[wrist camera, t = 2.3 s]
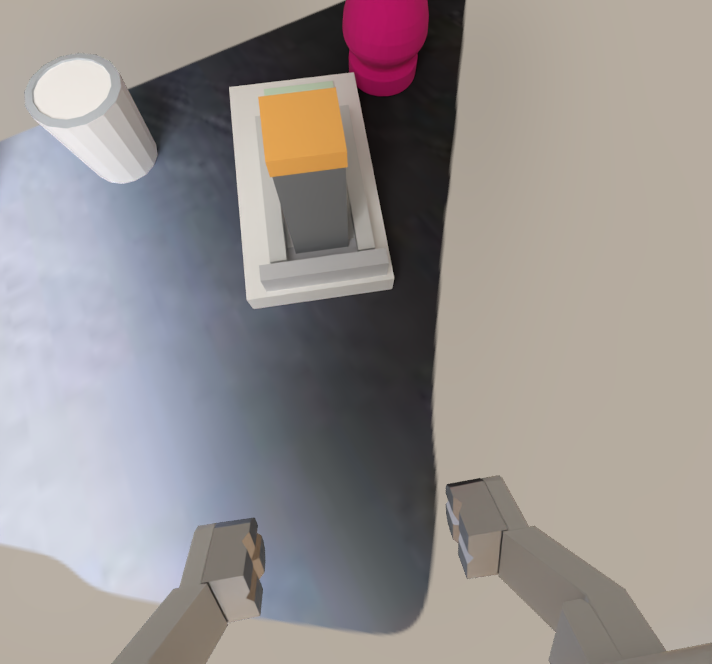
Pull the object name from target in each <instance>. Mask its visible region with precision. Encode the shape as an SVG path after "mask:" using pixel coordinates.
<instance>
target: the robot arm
mask: <svg viewBox="0 0 712 664" xmlns="http://www.w3.org/2000/svg"><path fill="white" fill-rule="evenodd" d="M446 495H447V498H448V502H447V503H446V514H447V520H448V525H449V528H450V532H451V535H452V538H453V540H455V541H456V542H457V543H458V545H459V548H458V549H459V550H458V555H459V558H460V561H461V563H462V566H463V569H464V572H465V575H466V577H467V579H471V578H477V577H484V576H491V575H497V574H499V577H500V578H501V579H502V580H503V581H504V582H505V583H506V584H507V585H508V586H509V587H510V588H511V589H512V590H513V591H514V592H515V593H516V594H517V595H518V596H519V597H520V598H521V599H523V601H524V602H525V603H526V604H527V605H528V606H530V607H531V608H532V609H533V610H534V611H535V612H536V613H537V614H538V615H539V616H540V617H541V618H542V619H543V620H544V621H545V622H546V623H547V624H548V625H549V626H550V627H551V628H552V629H553V630H554V631H555V632H556V633H555V637H554V641H553V645H552V649H551V652H550V656H549V662H550V664H712V643H708V644H702V645H697V646H692V647H687V648H682V649H676V650H671V651H666V650H665V648H664V646H663V645H662V643H661V642H660V640H659V639H658V638H657V636H656V634H655V633H654V632H653V630H652V629H651V627H650V626H649V624H648V623H647V621H646V620H645V618H644V617H643V615H642V614H641V612H640V611H639V609H638V608H637V606H636V605H635V603H634V602H633V600H632V599H631V597H630V596H629V594H628V593H627V591H626V590H625V589H624V588H623V587H621V586H620V585H618V584H617V583H615V582H614V581H612V580H611V579H610V578H608V577H607V576H605V575H604V574H602V573H601V572H600V571H598V570H597V569H595V568H594V567H592V566H591V565H590V564H588V563H587V562H585V561H584V560H582V559H581V558H579V557H578V556H577V555H575V554H574V553H572V552H571V551H569V550H568V549H567V548H565V547H564V546H562V545H561V544H560V543H558V542H557V541H555V540H554V539H552V538H551V537H550V536H548V535H547V534H545V533H544V532H542V531H541V530H539V529H538V528H537V527H535V526H530V527H529V526H528V524H527V522H526V520H525V519H524V517H523V515H522V513H521V511H520V510H519V508H518V506H517V504H516V502H515V500H514V498H513V497H512V495H511V493H510V491H509V489H508V487H507V486H506V484H505V482H504V480H503V478H501V477H500V476H492V477H487V478H482V479H480V478H478V479H473V480H467V481H462V482H457V483H451V484H447V486H446ZM257 528H258V525H257V522H256V520H255V518H248V519H241V520H234V521H227V522H220V523H213V524H207V525H201V526H198V527H197V529H196V530H195V532H194V535H193V539H192V542H191V546H190V550H189V553H188V557H187V561H186V564H185V568H184V572H183V575H182V579H181V583H180V586H179V588H176V589H173V590H172V591H171V593H170V594H169V595H168V596H167V597H166V599H165V600H164V601H163V602H162V603H161V605H160V606H159V607H158V608H157V609H156V611H155V612H154V613H153V614H152V615H151V617H150V618H149V619H148V620H147V621H146V623H145V624H144V625H143V626H142V628H141V629H140V630H139V631H138V632H137V634H136V635H135V636H134V637H133V638H132V640H131V641H130V642H129V643H128V644H127V646H126V647H125V648H124V649H123V651H122V652H121V653H120V654H119V655H118V657H117V658H116V659H115V660H114V661H113V663H112V664H206V662H207V661H208V659H209V657H210V655H211V654H212V652H213V650H214V648H215V647H216V645H217V643H218V641H219V640H220V638H221V636H222V635H223V633H224V631H225V629H226V627H227V626H228V624H227V623H230V622H235V621H239V620H243V619H249V618H254V617H258V616H260V614H261V604H262V594H263V588H262V586H261V583H260V580H259V579H260V578H261V576H262V575H263V574H264V572H265V547H264V542H263V539H262V536H261V535H260V534H258V533H257Z"/></svg>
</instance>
